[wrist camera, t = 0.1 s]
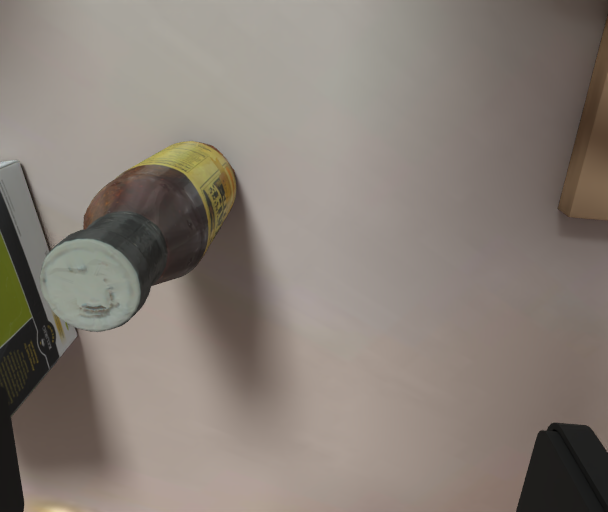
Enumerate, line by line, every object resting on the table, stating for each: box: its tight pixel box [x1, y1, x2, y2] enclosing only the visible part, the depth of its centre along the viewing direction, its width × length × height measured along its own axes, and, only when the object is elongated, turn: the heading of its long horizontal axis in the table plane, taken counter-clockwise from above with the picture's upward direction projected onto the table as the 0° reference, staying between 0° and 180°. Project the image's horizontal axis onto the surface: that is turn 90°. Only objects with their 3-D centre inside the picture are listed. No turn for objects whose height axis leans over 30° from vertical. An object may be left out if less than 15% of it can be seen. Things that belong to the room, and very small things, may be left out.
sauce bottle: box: [40, 141, 236, 332], centre depth 31 cm, size 7×6×20 cm
